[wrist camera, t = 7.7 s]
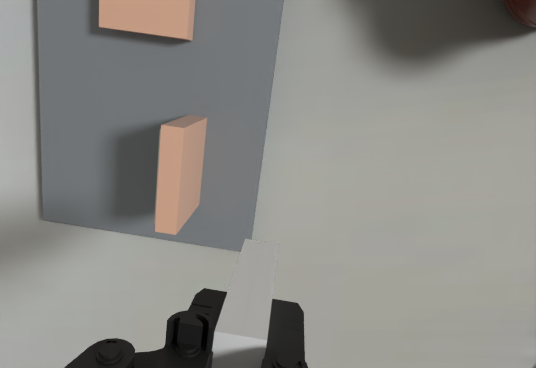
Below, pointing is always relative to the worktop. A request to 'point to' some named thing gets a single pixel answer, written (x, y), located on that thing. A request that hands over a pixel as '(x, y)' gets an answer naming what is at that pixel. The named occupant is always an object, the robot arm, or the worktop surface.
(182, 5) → the tile
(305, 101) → the worktop surface
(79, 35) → the mat
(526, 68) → the worktop surface
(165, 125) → the tile
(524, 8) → the mug
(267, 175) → the worktop surface
